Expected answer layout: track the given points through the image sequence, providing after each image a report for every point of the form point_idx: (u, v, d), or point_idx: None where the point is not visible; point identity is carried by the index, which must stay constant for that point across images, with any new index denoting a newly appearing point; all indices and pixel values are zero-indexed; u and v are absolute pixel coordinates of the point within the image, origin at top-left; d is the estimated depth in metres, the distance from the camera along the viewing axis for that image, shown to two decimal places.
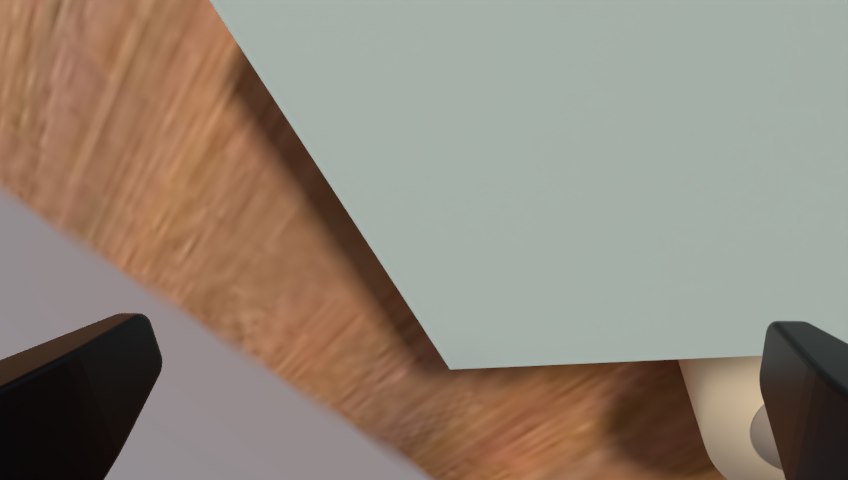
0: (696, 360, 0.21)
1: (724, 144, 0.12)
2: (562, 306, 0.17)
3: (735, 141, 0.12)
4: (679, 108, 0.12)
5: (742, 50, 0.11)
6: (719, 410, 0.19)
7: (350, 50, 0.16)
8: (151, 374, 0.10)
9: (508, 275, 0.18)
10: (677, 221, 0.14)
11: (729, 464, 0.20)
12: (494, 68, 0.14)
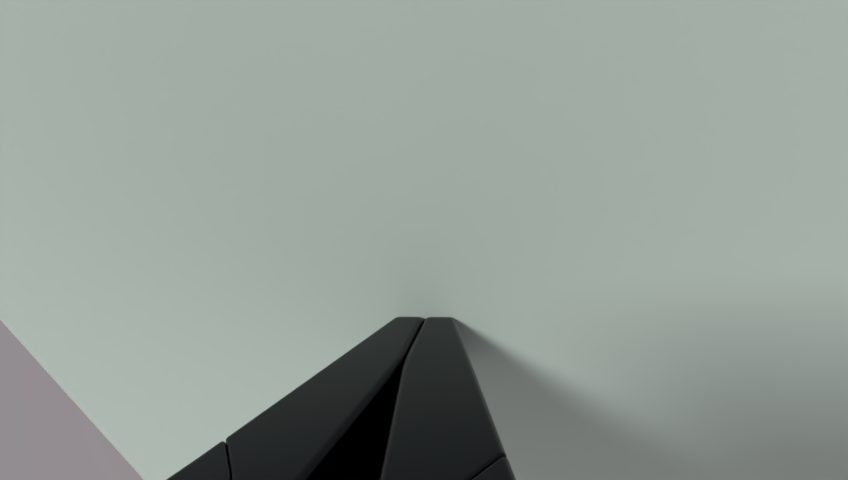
0: None
1: (541, 264, 0.08)
2: None
3: (540, 252, 0.07)
4: (464, 293, 0.08)
5: (393, 210, 0.07)
6: None
7: None
8: None
9: None
10: (657, 347, 0.08)
11: None
12: None
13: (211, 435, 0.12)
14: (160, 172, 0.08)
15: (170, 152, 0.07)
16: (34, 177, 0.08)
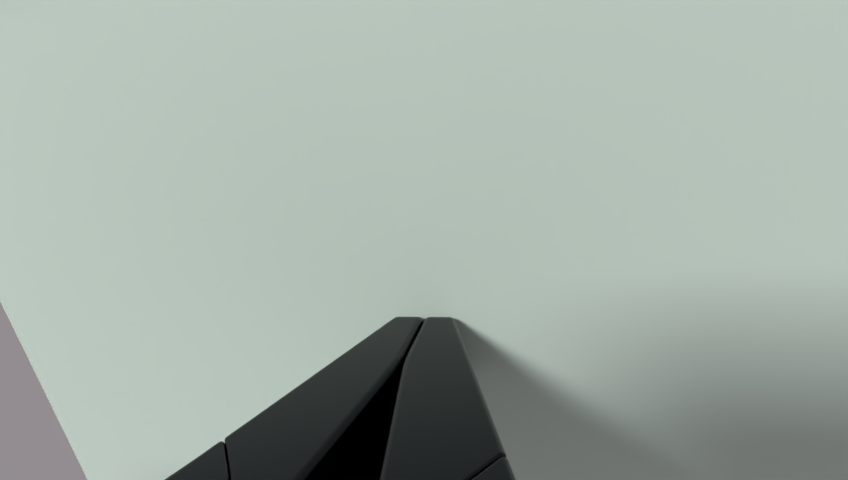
0: None
1: (556, 188, 0.07)
2: None
3: (555, 172, 0.07)
4: (474, 229, 0.08)
5: (408, 122, 0.07)
6: None
7: None
8: None
9: None
10: (677, 299, 0.08)
11: None
12: None
13: (186, 439, 0.11)
14: (183, 81, 0.08)
15: (196, 57, 0.08)
16: (58, 91, 0.08)
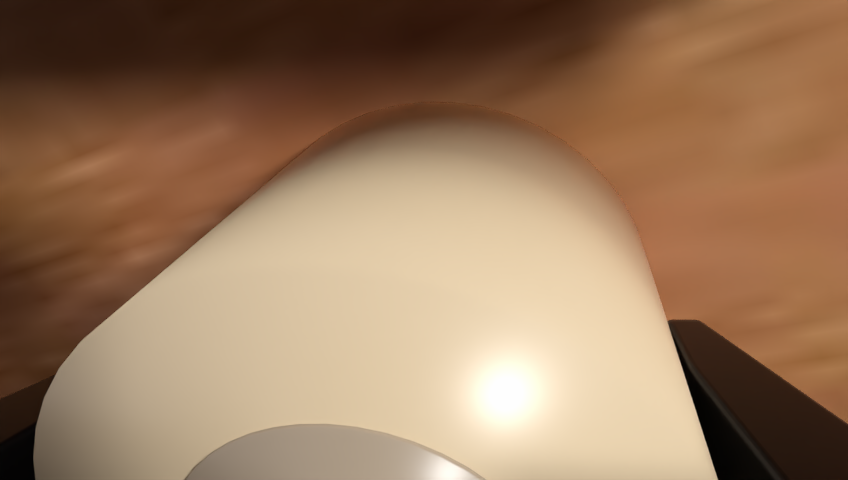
0: None
1: None
2: None
3: None
4: None
5: None
6: (82, 418, 0.05)
7: None
8: None
9: None
10: None
11: None
12: None
13: None
14: None
15: None
16: None
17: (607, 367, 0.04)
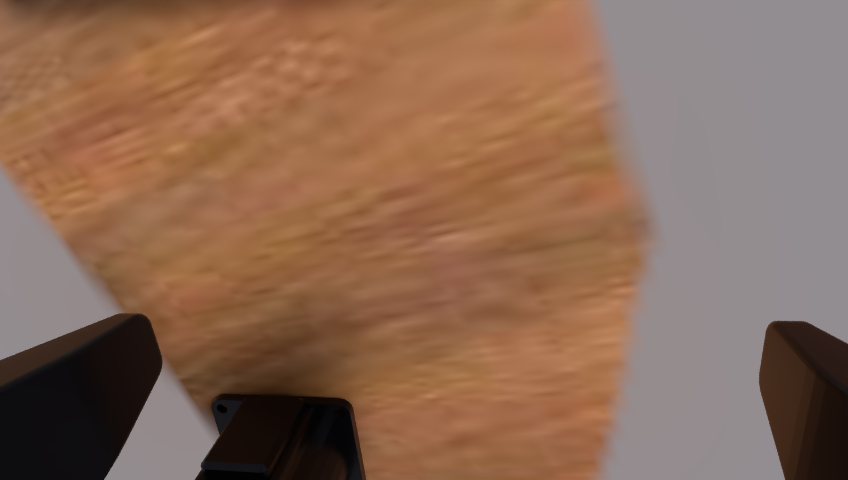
0: None
1: None
2: None
3: None
4: None
5: None
6: None
7: None
8: (151, 374, 0.10)
9: None
10: None
11: None
12: None
13: None
14: None
15: None
16: None
17: None
